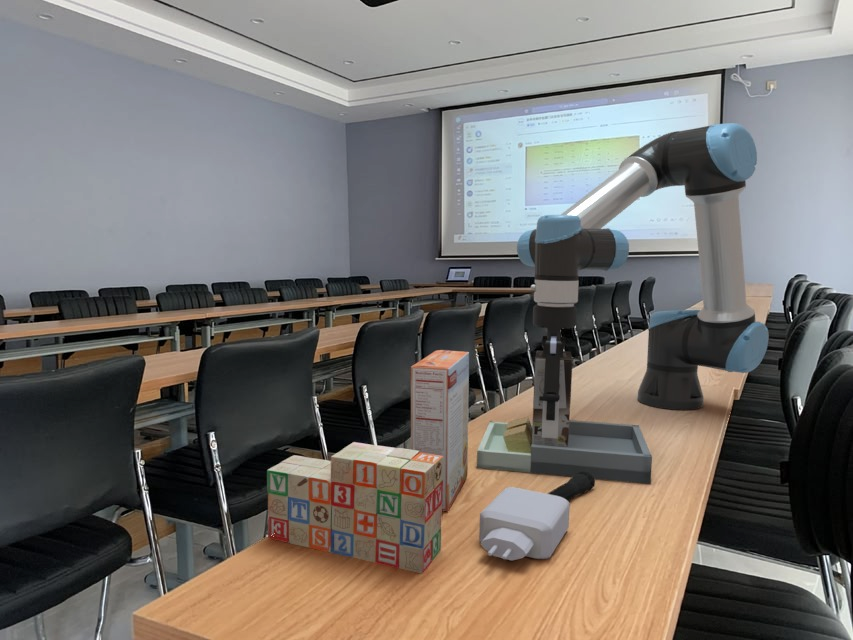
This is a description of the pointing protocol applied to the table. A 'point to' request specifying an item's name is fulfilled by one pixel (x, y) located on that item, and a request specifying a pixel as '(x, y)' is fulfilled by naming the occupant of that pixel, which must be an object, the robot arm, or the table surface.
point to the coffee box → (564, 401)
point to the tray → (500, 452)
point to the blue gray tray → (597, 453)
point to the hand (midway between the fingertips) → (550, 429)
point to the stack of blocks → (361, 504)
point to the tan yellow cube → (518, 439)
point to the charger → (523, 524)
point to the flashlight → (575, 486)
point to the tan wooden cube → (520, 424)
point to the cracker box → (442, 415)
